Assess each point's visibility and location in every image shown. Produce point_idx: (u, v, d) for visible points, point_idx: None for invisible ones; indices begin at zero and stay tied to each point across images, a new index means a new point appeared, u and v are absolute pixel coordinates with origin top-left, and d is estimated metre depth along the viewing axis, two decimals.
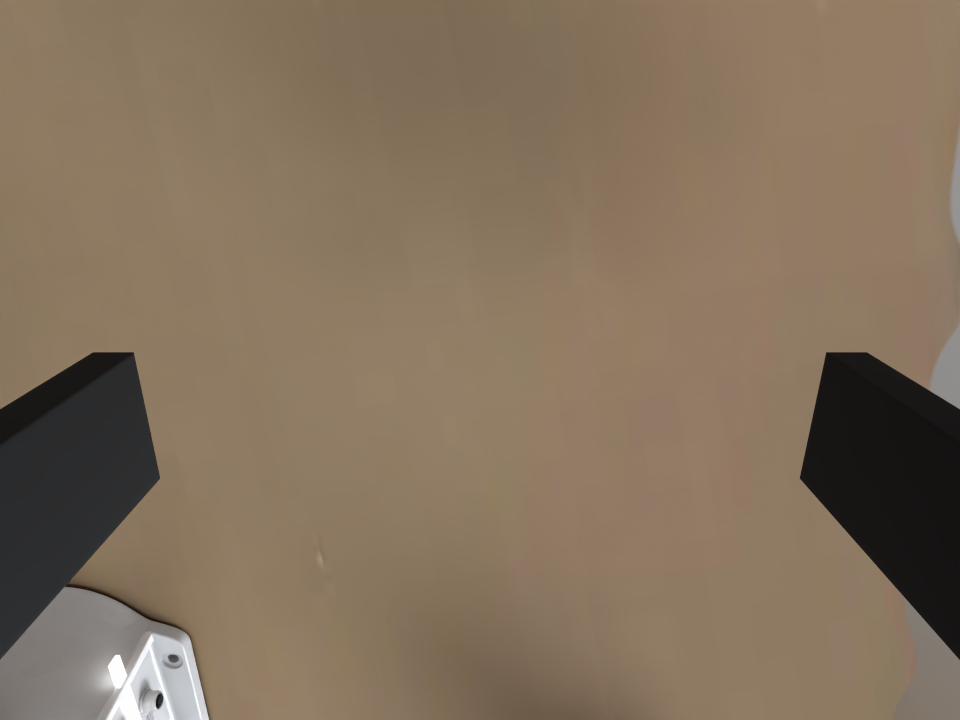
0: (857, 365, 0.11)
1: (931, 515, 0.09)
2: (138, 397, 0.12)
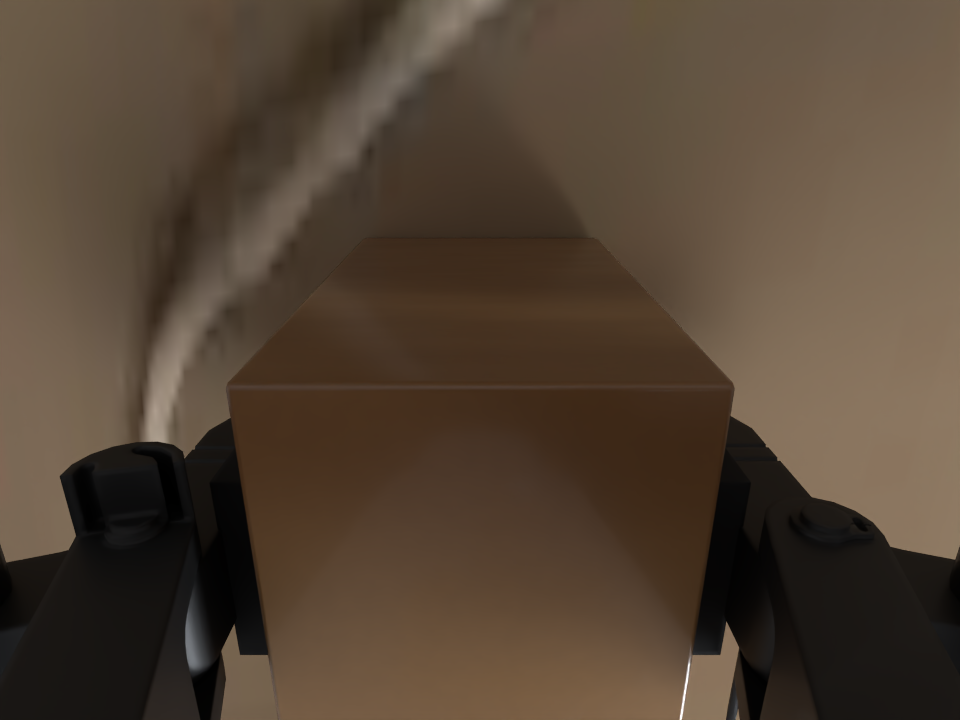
0: None
1: None
2: None
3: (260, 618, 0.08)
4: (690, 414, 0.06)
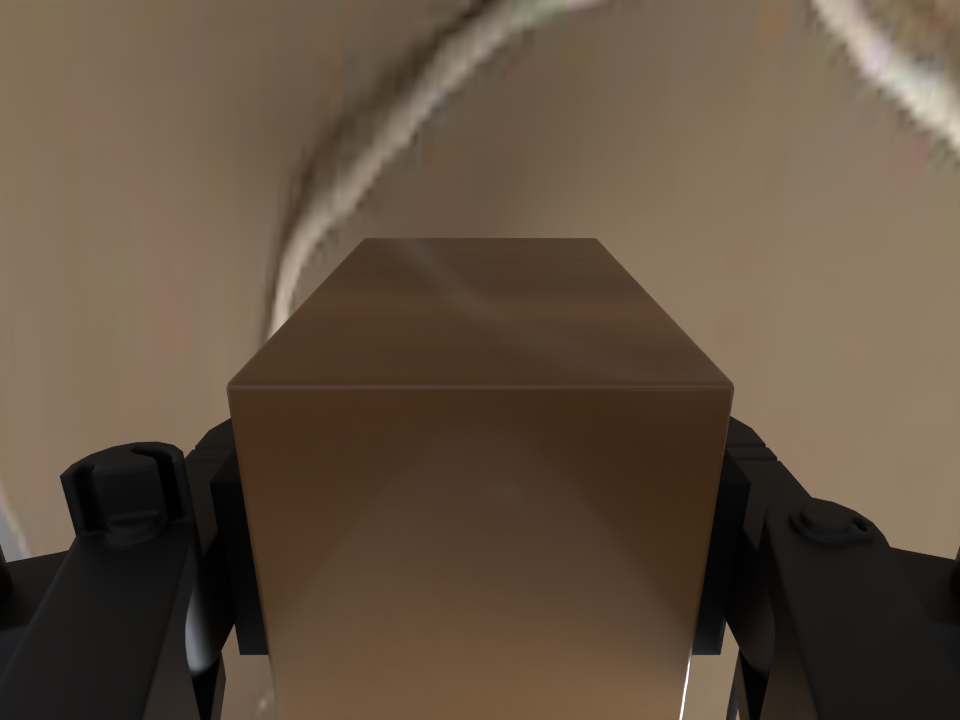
0: None
1: None
2: None
3: (260, 618, 0.08)
4: (689, 414, 0.06)
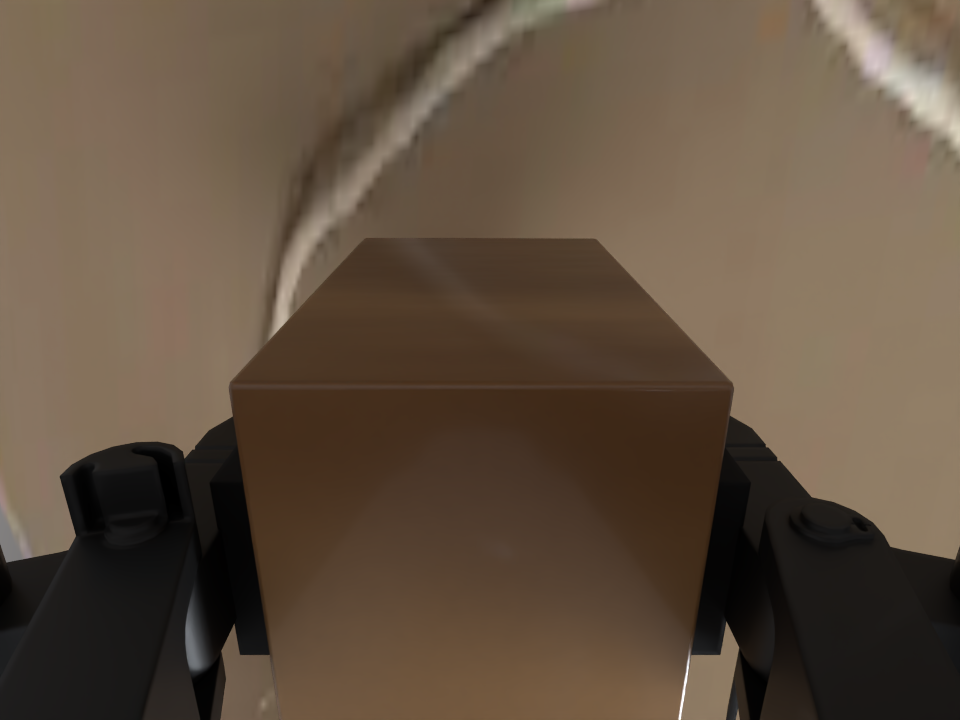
0: None
1: None
2: None
3: (260, 618, 0.08)
4: (689, 414, 0.06)
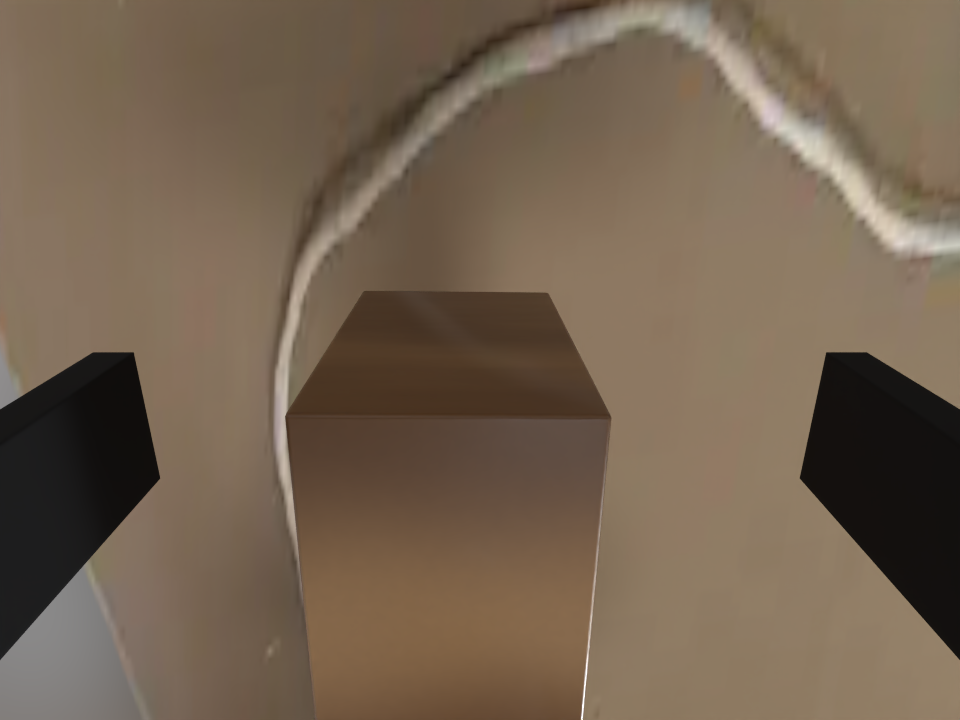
0: (857, 365, 0.11)
1: (931, 515, 0.09)
2: (138, 397, 0.12)
3: None
4: (583, 434, 0.10)
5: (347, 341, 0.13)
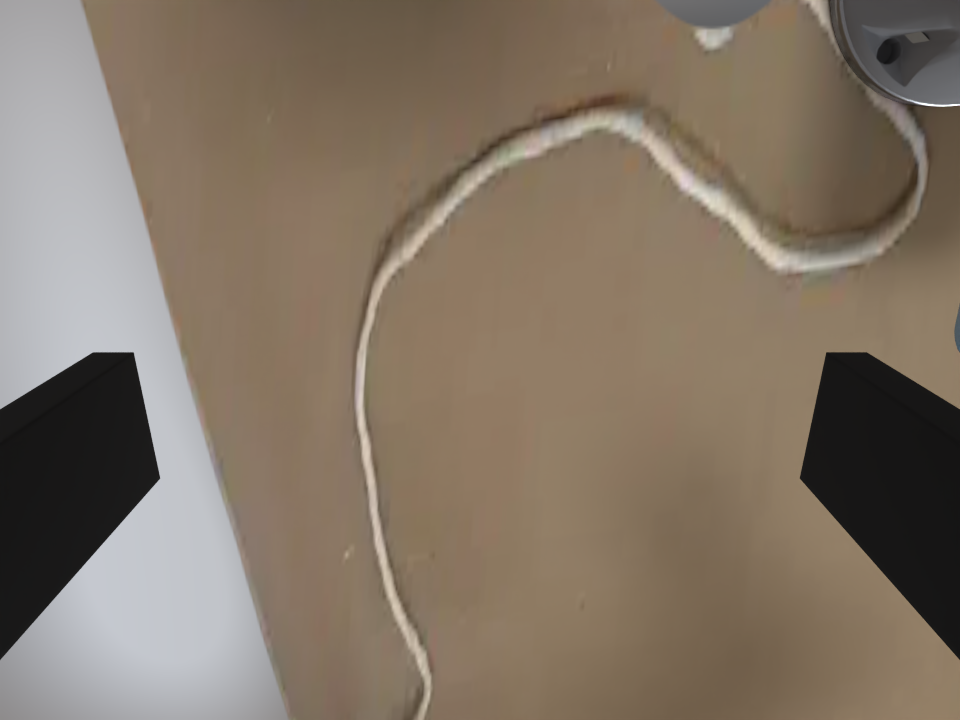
0: (857, 365, 0.11)
1: (931, 515, 0.09)
2: (138, 397, 0.12)
3: None
4: None
5: None
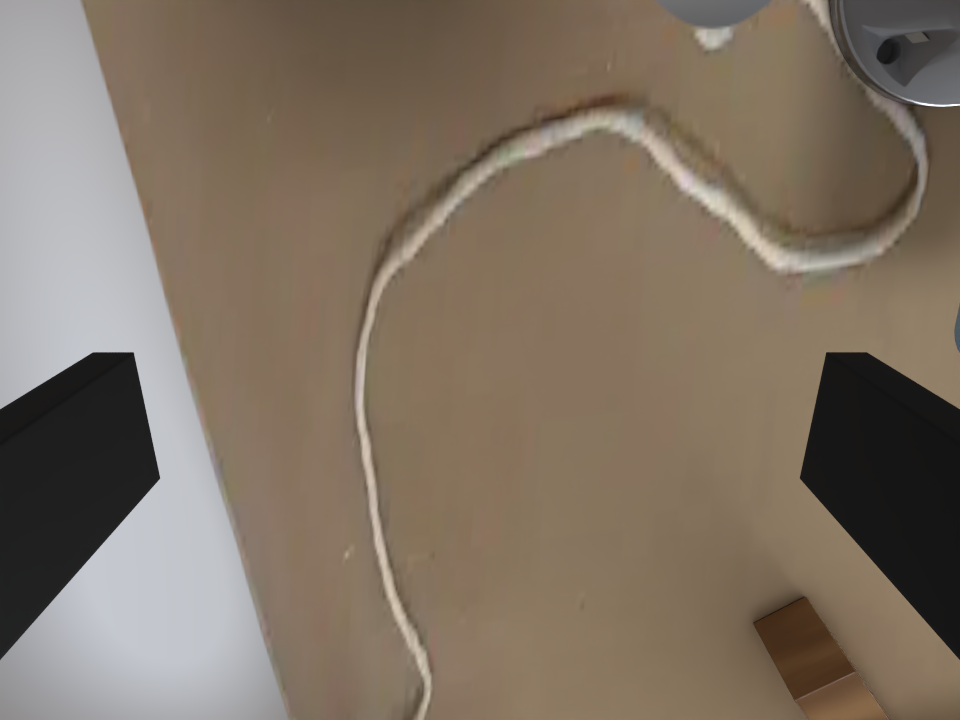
0: (857, 365, 0.11)
1: (931, 515, 0.09)
2: (138, 397, 0.12)
3: None
4: (852, 676, 0.47)
5: (778, 661, 0.51)
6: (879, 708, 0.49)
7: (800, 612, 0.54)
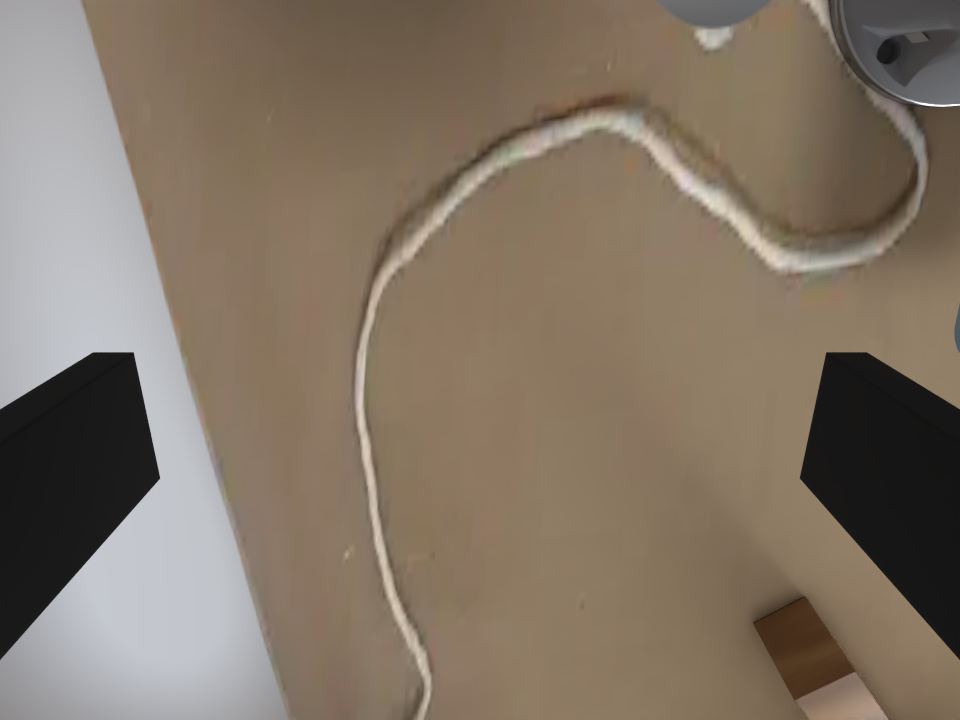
0: (857, 365, 0.11)
1: (931, 515, 0.09)
2: (138, 397, 0.12)
3: None
4: (852, 676, 0.47)
5: (778, 661, 0.51)
6: (879, 708, 0.49)
7: (800, 612, 0.54)
